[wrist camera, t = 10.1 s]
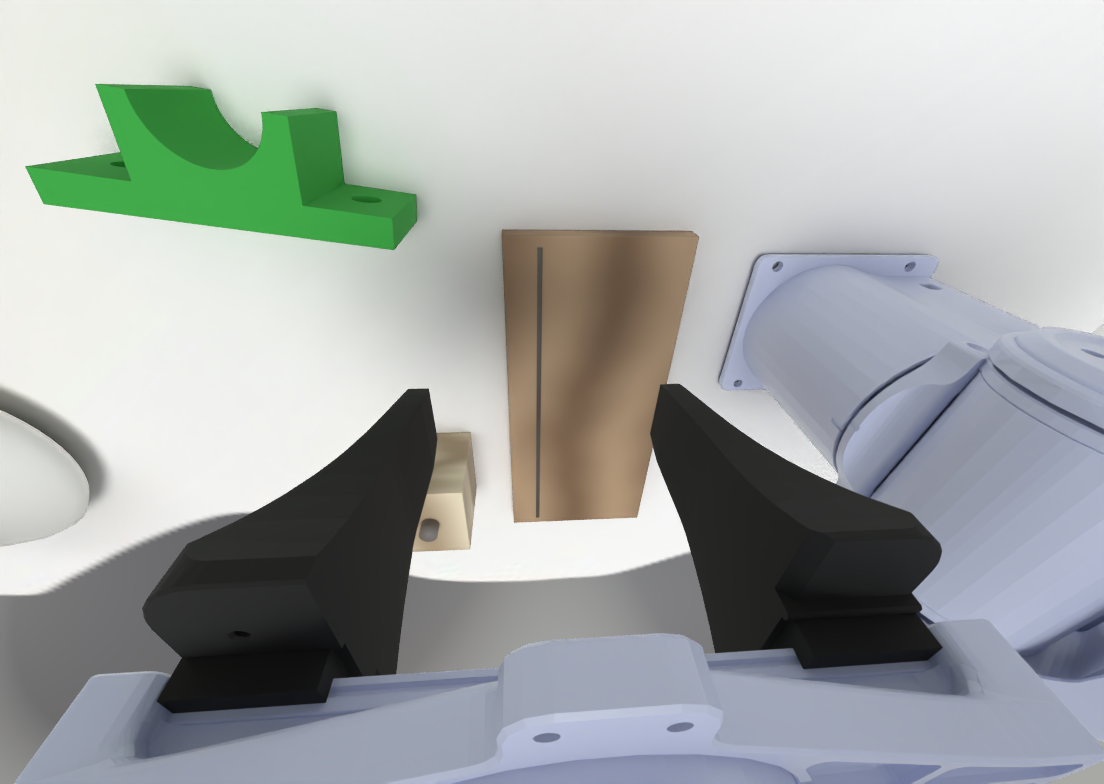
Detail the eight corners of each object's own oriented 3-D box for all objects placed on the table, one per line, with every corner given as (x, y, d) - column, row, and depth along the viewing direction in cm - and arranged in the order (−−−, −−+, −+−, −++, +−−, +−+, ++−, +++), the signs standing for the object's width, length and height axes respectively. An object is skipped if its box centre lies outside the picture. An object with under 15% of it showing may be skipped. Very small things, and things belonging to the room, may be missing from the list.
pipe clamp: (415, 124, 17) (389, 133, 13) (418, 220, 19) (395, 251, 16) (99, 69, 15) (-32, 62, 12) (139, 181, 18) (39, 205, 14)
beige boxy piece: (470, 431, 26) (460, 504, 22) (476, 486, 29) (468, 561, 25) (405, 433, 26) (381, 507, 21) (417, 488, 29) (398, 564, 24)
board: (691, 231, 20) (699, 237, 19) (633, 506, 32) (637, 517, 31) (502, 229, 19) (501, 235, 19) (514, 511, 31) (513, 523, 30)
